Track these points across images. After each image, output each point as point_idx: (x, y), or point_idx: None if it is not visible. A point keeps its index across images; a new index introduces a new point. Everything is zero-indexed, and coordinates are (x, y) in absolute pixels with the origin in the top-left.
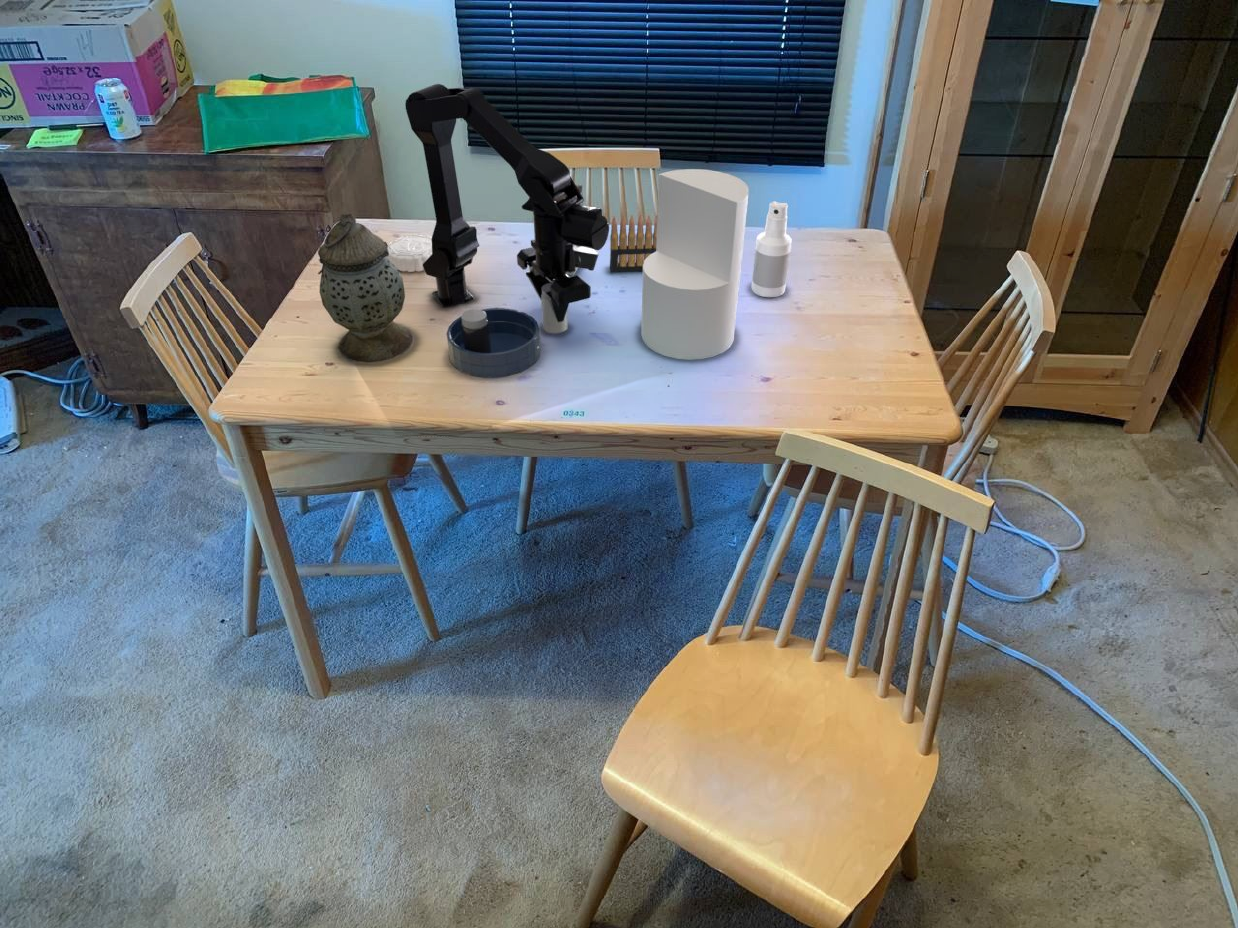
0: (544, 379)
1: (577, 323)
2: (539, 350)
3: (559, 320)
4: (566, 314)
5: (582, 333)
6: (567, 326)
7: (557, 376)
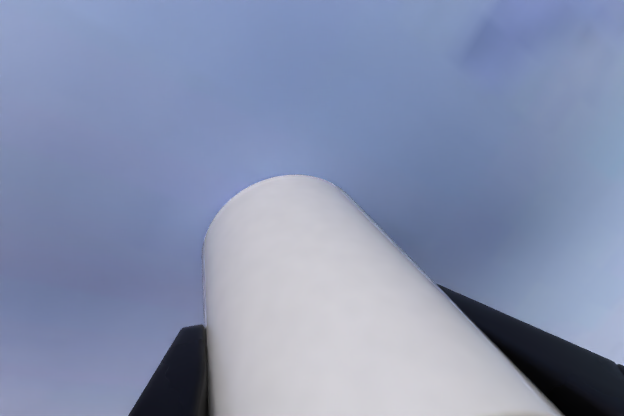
0: None
1: (292, 76)
2: None
3: None
4: (406, 254)
5: (432, 111)
6: (335, 188)
7: (608, 339)
